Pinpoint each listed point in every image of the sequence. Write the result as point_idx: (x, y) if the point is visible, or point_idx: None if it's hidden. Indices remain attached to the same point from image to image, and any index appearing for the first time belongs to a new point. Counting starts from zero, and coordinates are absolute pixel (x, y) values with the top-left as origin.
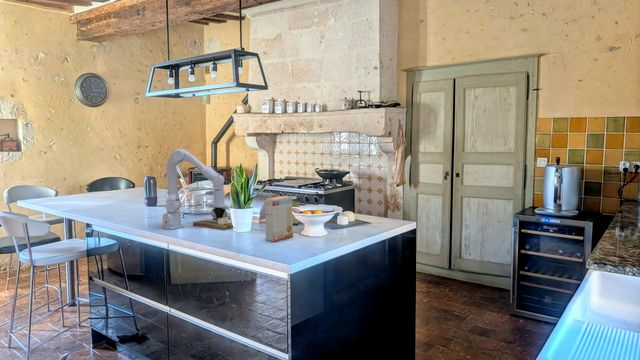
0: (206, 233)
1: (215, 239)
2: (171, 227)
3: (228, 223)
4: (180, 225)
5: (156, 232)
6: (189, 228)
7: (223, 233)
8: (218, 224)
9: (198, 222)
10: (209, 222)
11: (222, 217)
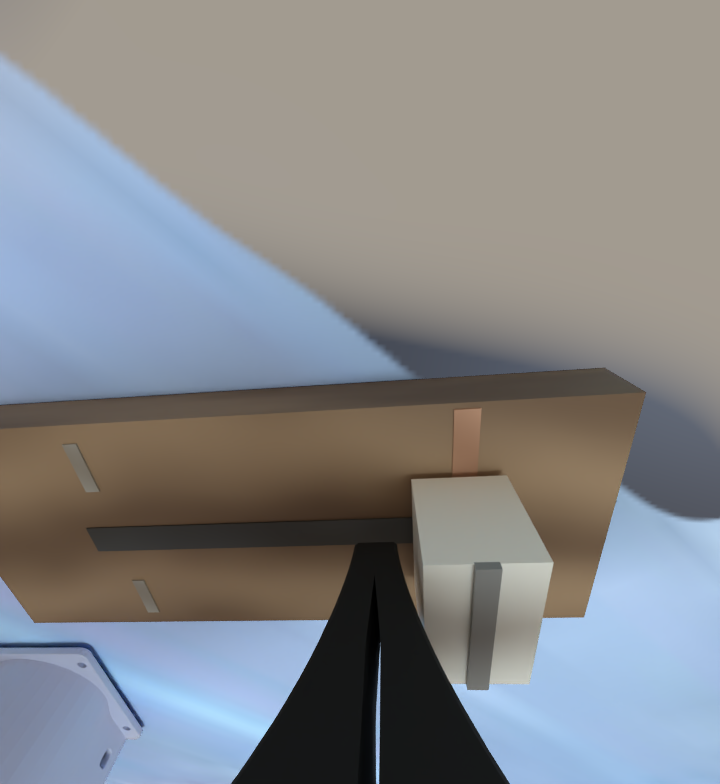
0: (492, 696)
1: (709, 761)
2: (117, 742)
3: (492, 457)
4: (80, 692)
5: (161, 781)
6: (184, 655)
7: (651, 646)
8: (411, 570)
9: (92, 606)
10: (188, 548)
11: (430, 609)
